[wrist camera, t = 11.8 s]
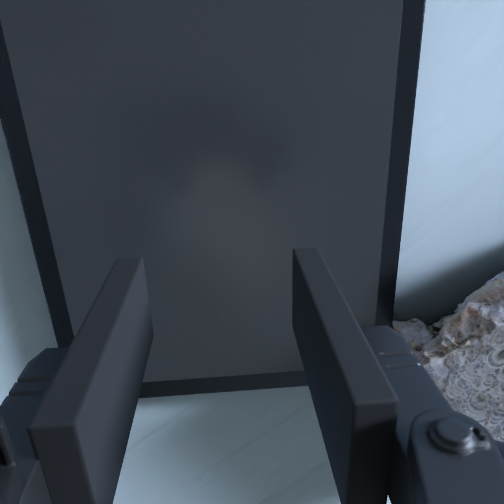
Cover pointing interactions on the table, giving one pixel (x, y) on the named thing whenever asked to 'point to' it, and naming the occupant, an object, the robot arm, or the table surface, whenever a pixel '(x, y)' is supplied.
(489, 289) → the geological specimen
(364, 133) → the tablet
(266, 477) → the table surface
